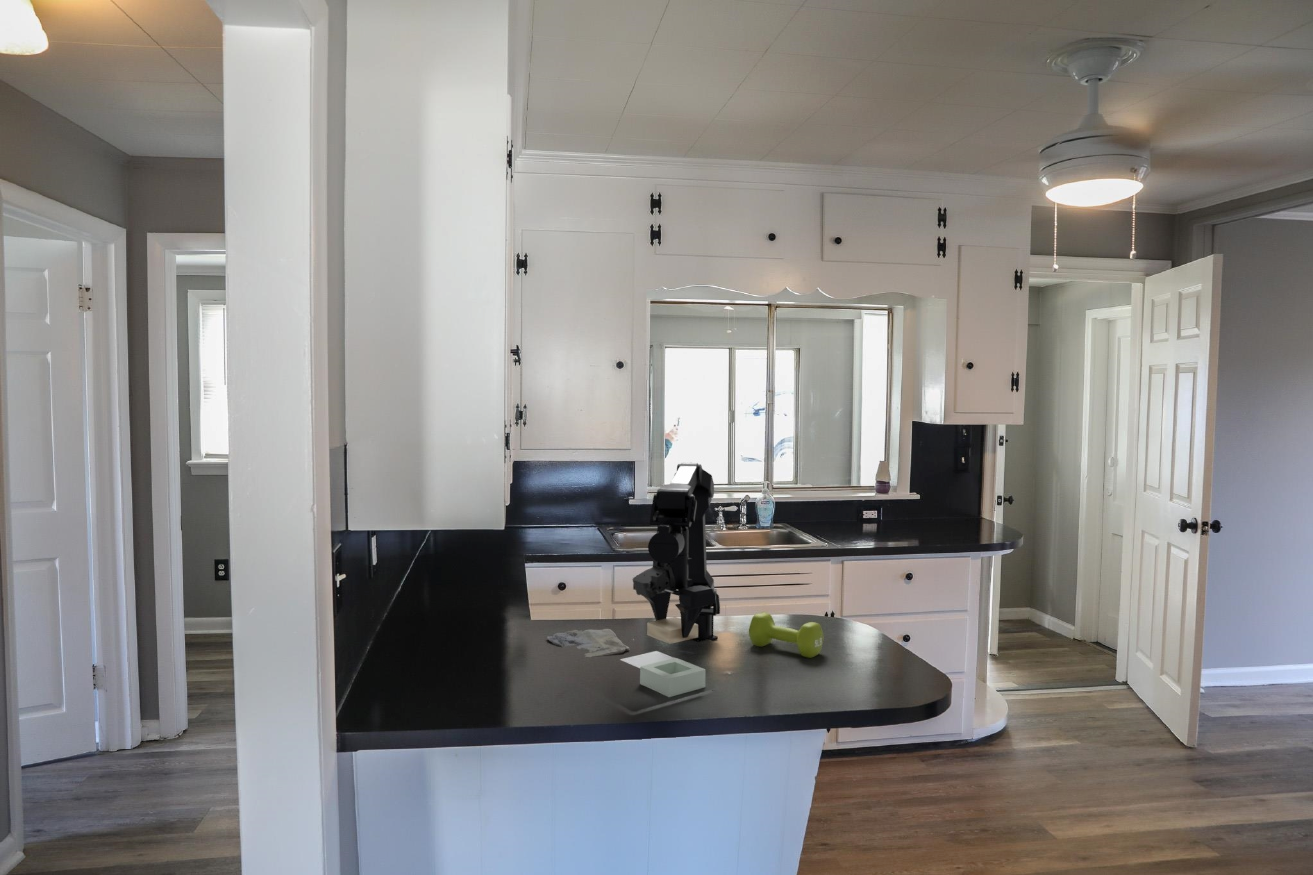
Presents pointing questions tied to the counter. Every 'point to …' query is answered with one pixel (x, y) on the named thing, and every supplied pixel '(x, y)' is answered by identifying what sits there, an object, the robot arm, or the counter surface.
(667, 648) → the counter surface
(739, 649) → the counter surface
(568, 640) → the crumpled grey cloth
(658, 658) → the mat
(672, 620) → the lid
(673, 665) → the dish
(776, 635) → the dumbbell
